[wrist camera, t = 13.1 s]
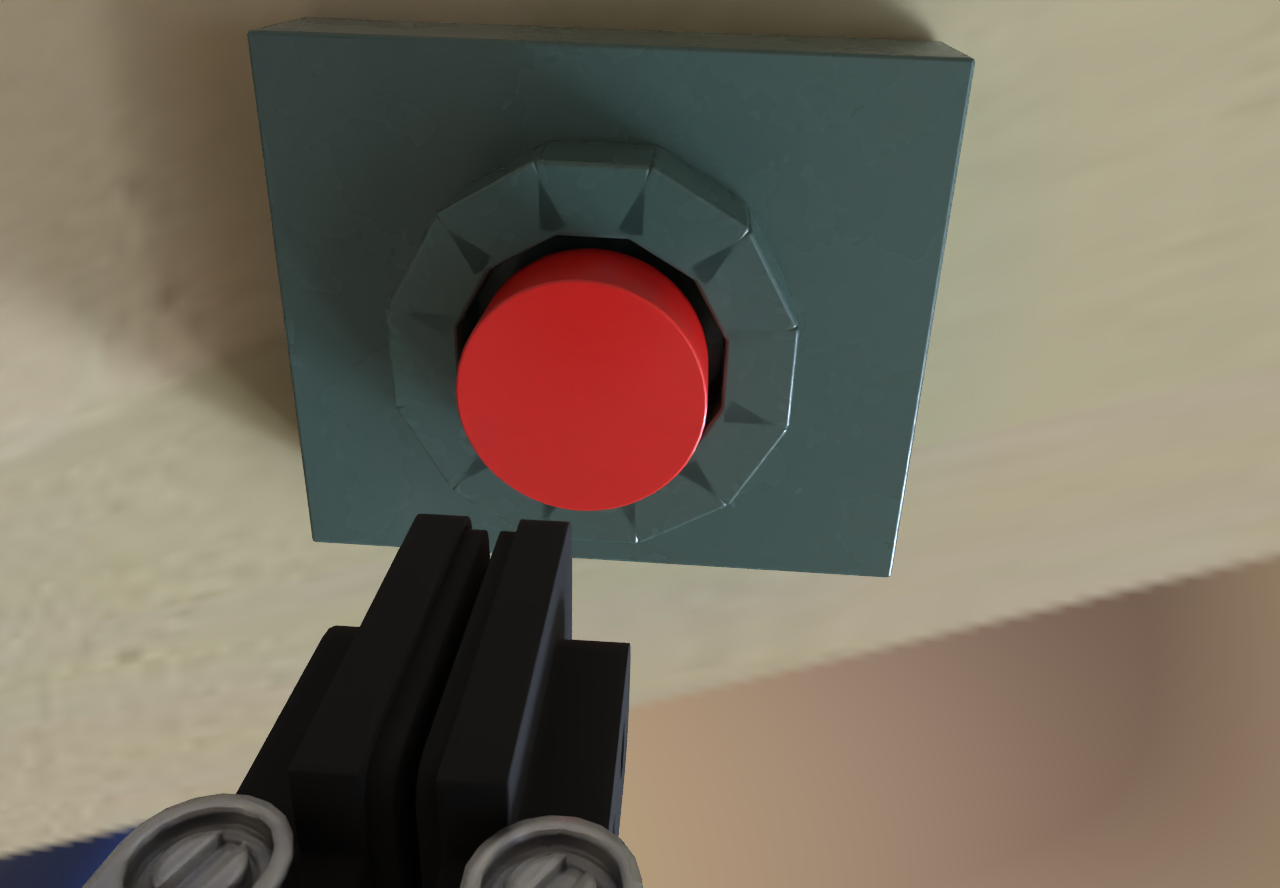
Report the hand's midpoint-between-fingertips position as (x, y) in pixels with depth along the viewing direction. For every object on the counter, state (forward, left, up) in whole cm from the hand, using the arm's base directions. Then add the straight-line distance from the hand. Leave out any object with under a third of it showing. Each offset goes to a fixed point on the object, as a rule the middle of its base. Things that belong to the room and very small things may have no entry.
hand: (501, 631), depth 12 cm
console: (0, 0, -11) cm, 11 cm away
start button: (0, 0, -7) cm, 7 cm away
